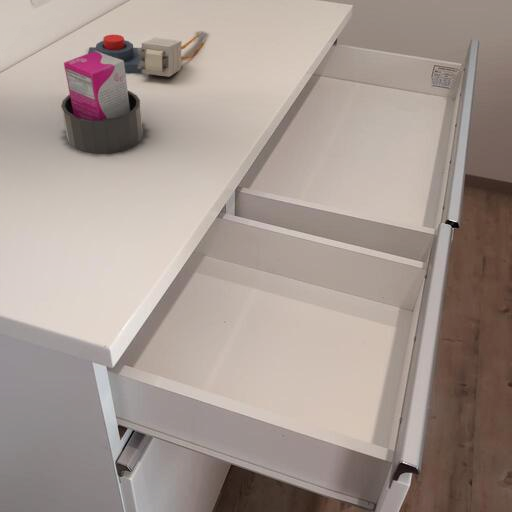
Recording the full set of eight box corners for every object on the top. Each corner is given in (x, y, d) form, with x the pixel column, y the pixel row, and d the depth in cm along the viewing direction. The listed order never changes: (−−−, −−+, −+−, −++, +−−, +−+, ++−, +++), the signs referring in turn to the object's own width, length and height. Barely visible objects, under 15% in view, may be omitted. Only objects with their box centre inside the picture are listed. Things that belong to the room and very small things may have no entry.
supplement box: (106, 124, 83) (96, 48, 75) (134, 137, 80) (126, 60, 73) (76, 138, 79) (62, 60, 72) (104, 152, 77) (93, 73, 69)
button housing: (86, 73, 97) (83, 54, 95) (90, 56, 103) (88, 37, 101) (143, 73, 98) (142, 54, 96) (144, 56, 104) (143, 38, 102)
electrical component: (179, 51, 115) (180, 26, 113) (207, 55, 115) (208, 30, 112) (137, 73, 95) (136, 43, 92) (170, 78, 94) (170, 48, 91)
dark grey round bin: (64, 160, 75) (56, 121, 71) (73, 124, 83) (66, 86, 79) (142, 159, 77) (139, 120, 73) (143, 123, 85) (140, 86, 81)
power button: (103, 51, 97) (102, 41, 96) (105, 44, 100) (104, 34, 99) (124, 51, 98) (123, 41, 96) (125, 44, 100) (124, 34, 99)
